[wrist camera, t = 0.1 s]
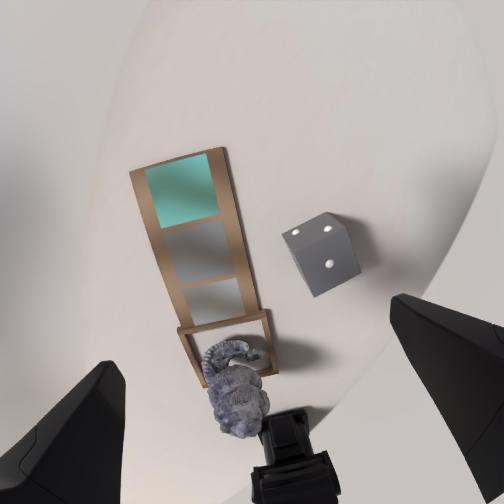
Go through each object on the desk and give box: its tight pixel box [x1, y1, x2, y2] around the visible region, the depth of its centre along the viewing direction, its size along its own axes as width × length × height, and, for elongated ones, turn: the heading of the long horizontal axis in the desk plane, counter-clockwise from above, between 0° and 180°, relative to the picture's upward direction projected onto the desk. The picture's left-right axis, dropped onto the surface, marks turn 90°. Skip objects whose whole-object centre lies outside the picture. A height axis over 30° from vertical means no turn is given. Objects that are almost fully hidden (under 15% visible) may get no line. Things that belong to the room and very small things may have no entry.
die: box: [282, 212, 361, 298], centre depth 22 cm, size 4×4×4 cm
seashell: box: [201, 340, 270, 439], centre depth 23 cm, size 5×5×10 cm
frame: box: [177, 309, 279, 388], centre depth 27 cm, size 8×8×1 cm
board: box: [129, 147, 261, 335], centre depth 23 cm, size 15×7×1 cm, turn 11°
